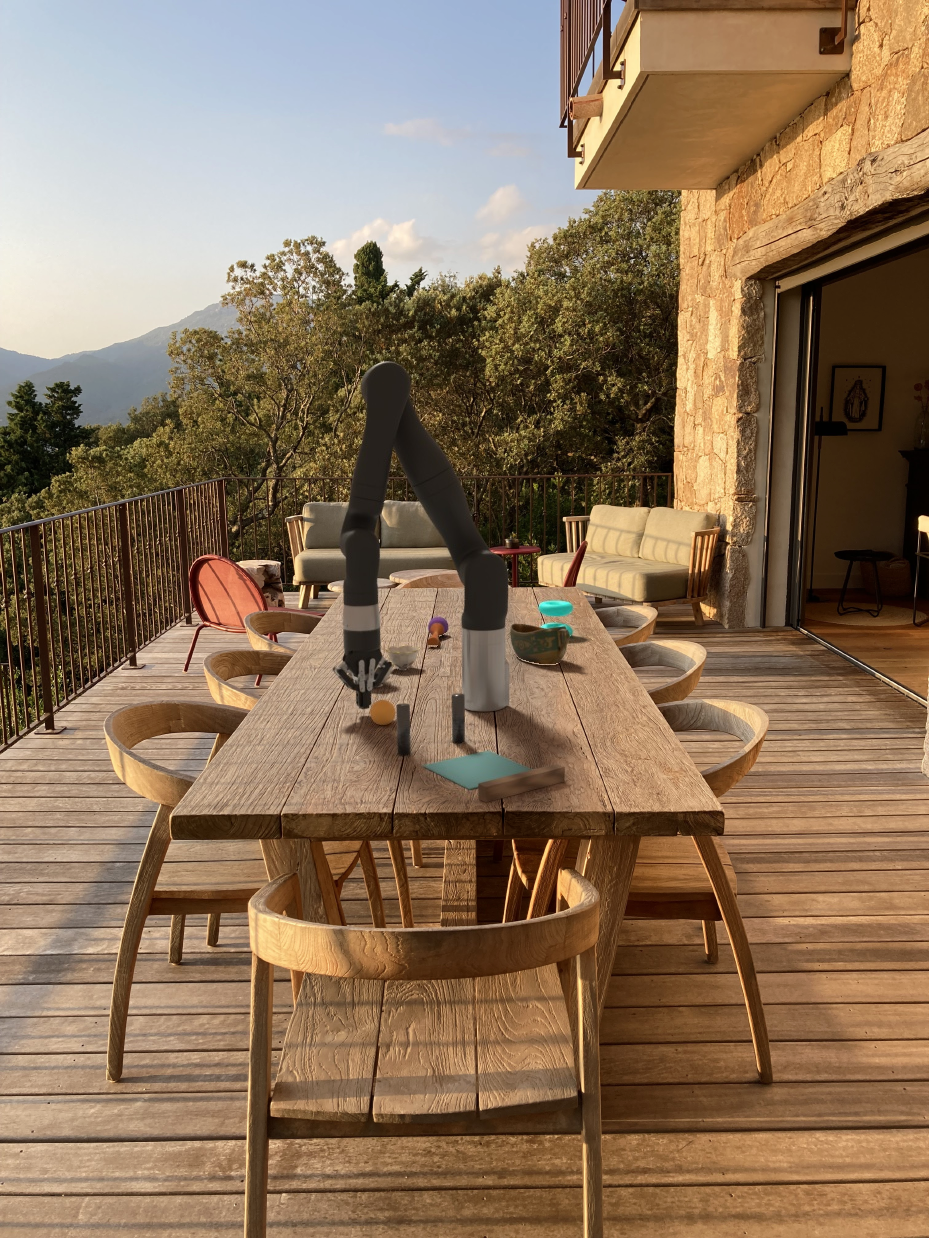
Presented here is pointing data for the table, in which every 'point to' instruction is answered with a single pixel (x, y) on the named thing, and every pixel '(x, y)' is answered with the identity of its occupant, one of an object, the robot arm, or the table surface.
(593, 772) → the table surface
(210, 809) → the table surface
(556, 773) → the stopper
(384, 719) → the ball
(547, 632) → the cup
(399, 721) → the post
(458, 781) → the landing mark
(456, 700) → the post
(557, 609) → the donuts
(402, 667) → the chinaware
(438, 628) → the kendama
